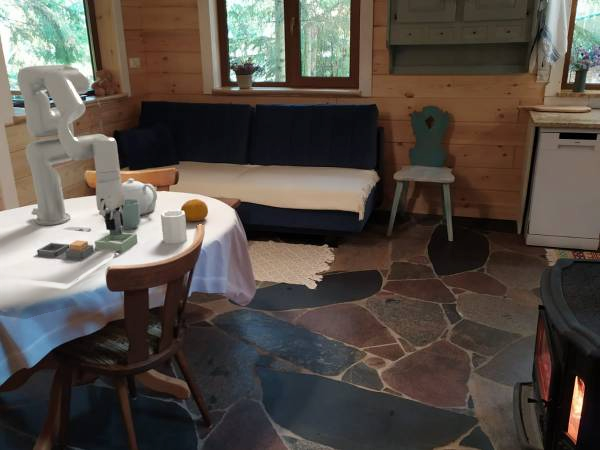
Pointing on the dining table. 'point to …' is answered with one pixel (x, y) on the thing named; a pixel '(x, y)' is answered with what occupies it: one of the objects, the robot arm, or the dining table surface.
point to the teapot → (140, 194)
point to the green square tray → (121, 247)
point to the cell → (116, 223)
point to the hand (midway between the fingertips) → (115, 227)
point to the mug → (174, 226)
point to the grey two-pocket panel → (65, 252)
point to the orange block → (78, 245)
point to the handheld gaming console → (78, 229)
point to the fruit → (195, 210)
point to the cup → (131, 214)
